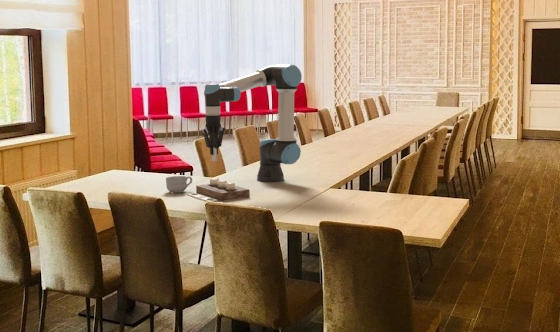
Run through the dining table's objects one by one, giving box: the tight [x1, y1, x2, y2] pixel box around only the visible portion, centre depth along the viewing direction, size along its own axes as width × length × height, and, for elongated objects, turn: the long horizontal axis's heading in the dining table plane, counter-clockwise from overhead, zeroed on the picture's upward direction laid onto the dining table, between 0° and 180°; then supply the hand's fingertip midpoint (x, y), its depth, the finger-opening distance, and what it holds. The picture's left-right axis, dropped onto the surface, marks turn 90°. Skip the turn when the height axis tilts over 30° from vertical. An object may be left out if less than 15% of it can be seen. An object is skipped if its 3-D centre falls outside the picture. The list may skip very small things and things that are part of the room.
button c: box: [226, 182, 236, 190], centre depth 361 cm, size 5×5×3 cm
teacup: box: [165, 175, 193, 194], centre depth 379 cm, size 14×11×8 cm
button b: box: [218, 179, 228, 188], centre depth 368 cm, size 5×5×3 cm
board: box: [195, 183, 251, 202], centre depth 368 cm, size 16×26×4 cm, turn 34°
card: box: [187, 192, 219, 202], centre depth 362 cm, size 5×22×1 cm, turn 34°
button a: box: [209, 177, 220, 186], centre depth 374 cm, size 5×5×3 cm
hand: (214, 160), depth 371 cm, fingers closed
